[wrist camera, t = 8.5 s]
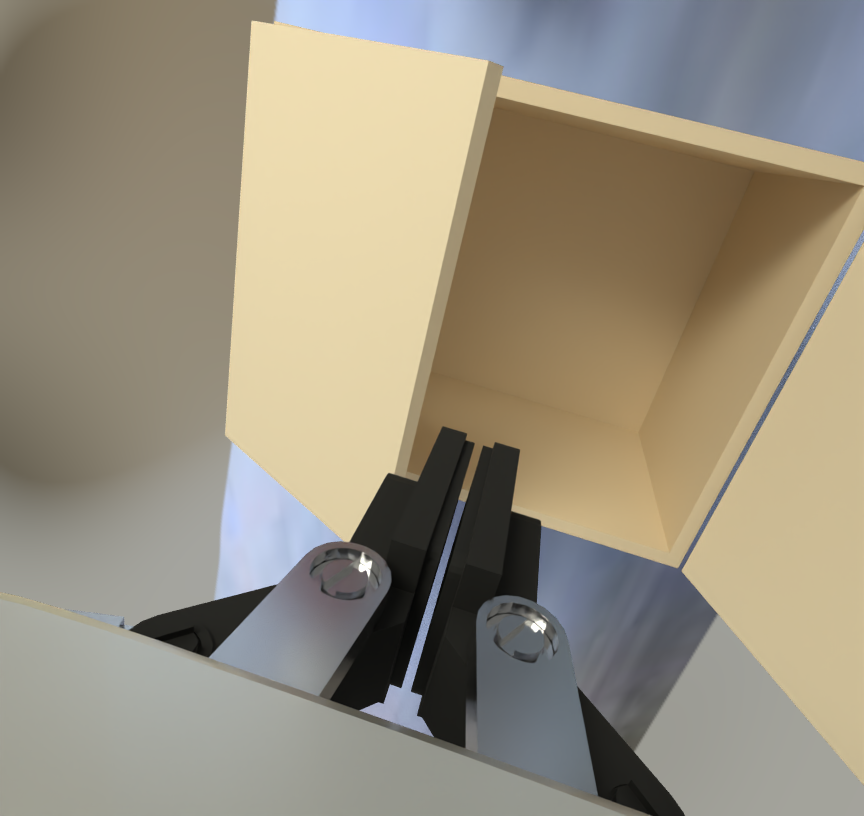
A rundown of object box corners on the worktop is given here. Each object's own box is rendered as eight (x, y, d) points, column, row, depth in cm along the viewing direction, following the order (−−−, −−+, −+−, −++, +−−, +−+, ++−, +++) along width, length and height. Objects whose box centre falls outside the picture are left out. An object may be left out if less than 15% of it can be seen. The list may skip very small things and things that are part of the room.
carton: (379, 66, 30) (273, 20, 19) (769, 160, 28) (896, 169, 17) (335, 349, 37) (241, 431, 26) (643, 439, 35) (677, 568, 24)
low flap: (268, 25, 19) (251, 20, 18) (503, 66, 14) (488, 60, 13) (237, 432, 26) (224, 435, 25) (385, 560, 21) (373, 567, 20)
